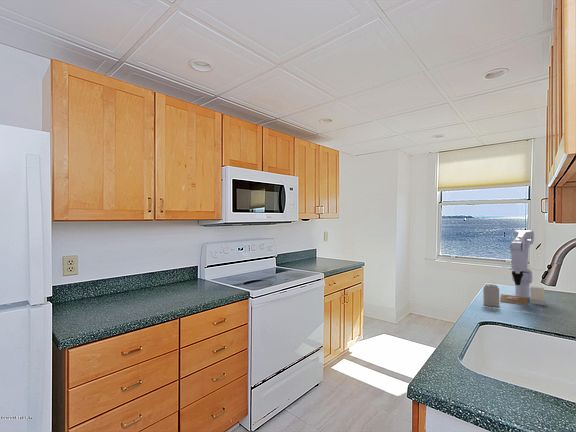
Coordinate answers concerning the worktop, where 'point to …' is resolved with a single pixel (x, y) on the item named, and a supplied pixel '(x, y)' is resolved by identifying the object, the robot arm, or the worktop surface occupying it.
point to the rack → (522, 299)
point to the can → (491, 295)
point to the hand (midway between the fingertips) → (517, 284)
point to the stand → (538, 301)
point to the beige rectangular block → (537, 293)
